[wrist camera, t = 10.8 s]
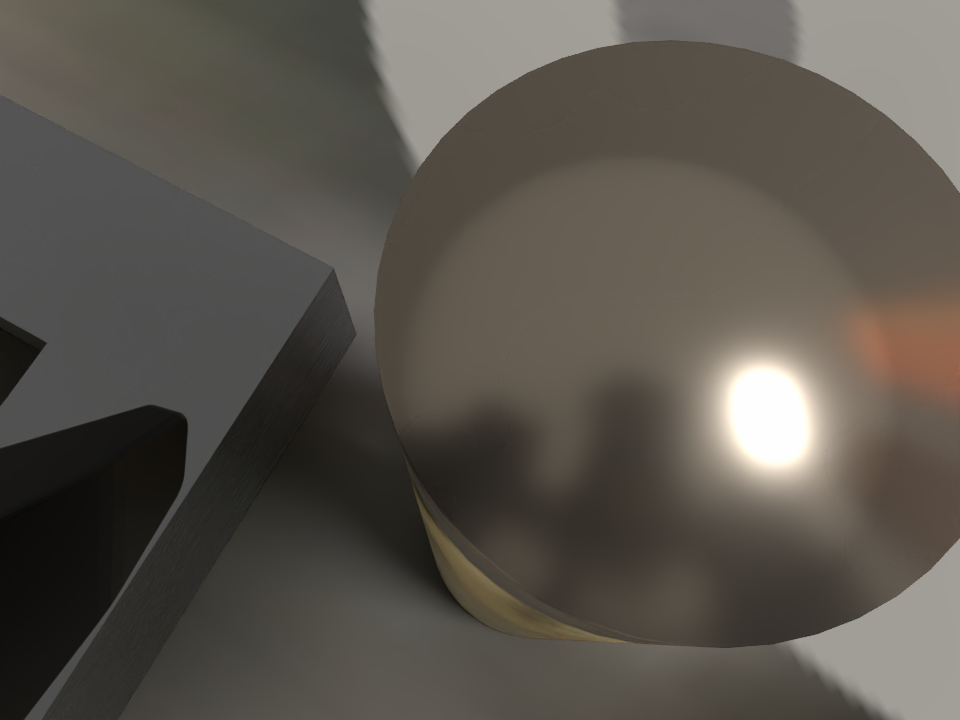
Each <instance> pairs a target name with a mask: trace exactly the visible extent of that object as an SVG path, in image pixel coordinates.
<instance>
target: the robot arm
mask: <svg viewBox="0 0 960 720" xmlns="http://www.w3.org/2000/svg"><path fill="white" fill-rule="evenodd" d="M187 436H188V422H187V418H186V417H185V416H184V414H182V413H180V412H177V411H174V410H170V409H167V408H164V407H160V406H157V405H145V406H142V407H138V408H135V409H131V410H128V411H125V412H121V413H118V414H114V415H111V416H108V417H104V418H101V419H97V420H94V421H91V422H87V423H84V424H80V425H77V426H74V427H70V428H67V429H64V430H60V431H57V432H53V433H50V434H47V435H43V436H40V437H36V438H33V439H30V440H26V441H23V442H19V443H16V444H13V445H9V446H6V447H2V448H0V720H25V718H26V717H27V716H28V714H29V713H30V712H31V710H32V709H33V708H34V707H35V705H36V704H37V703H38V701H39V700H40V699H41V697H42V696H43V695H44V694H45V692H46V691H47V690H48V688H49V687H50V686H51V684H52V683H53V682H54V680H55V679H56V678H57V677H58V675H59V674H60V673H61V671H62V670H63V669H64V667H65V666H66V665H67V664H68V662H69V661H70V660H71V658H72V657H73V656H74V654H75V653H76V652H77V651H78V649H79V648H80V647H81V645H82V644H83V643H84V641H85V640H86V639H87V637H88V636H89V635H90V634H91V632H92V631H93V630H94V628H95V627H96V626H97V624H98V623H99V622H100V620H101V619H102V618H103V616H104V615H105V613H106V612H107V611H108V609H109V608H110V607H111V605H112V603H113V602H114V600H115V599H116V597H117V596H118V594H119V592H120V591H121V589H122V588H123V586H124V584H125V583H126V581H127V579H128V578H129V576H130V574H131V573H132V571H133V569H134V568H135V566H136V564H137V563H138V561H139V559H140V558H141V556H142V554H143V553H144V551H145V549H146V548H147V546H148V544H149V543H150V541H151V539H152V538H153V536H154V534H155V533H156V531H157V529H158V528H159V526H160V524H161V523H162V521H163V519H164V518H165V516H166V514H167V513H168V511H169V510H170V508H171V506H172V505H173V503H174V501H175V500H176V498H177V496H178V494H179V492H180V490H181V487H182V484H183V480H184V475H185V463H186V450H187Z"/></svg>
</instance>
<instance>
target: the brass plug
mask: <svg viewBox="0 0 960 720" xmlns="http://www.w3.org/2000/svg"><path fill="white" fill-rule="evenodd" d="M374 315H375V340H376V354H377V359H378V365H379V370H380V376H381V381H382V387H383V392H384V395H385V398H386V402H387V405H388V408H389V411H390V415H391V418H392V421H393V424H394V428H395V431H396V434H397V437H398V441H399V444H400V447H401V450H402V454H403V457H404V460H405V463H406V467H407V470H408V473H409V477H410V480H411V483H412V486H413V490H414V493H415V496H416V499H417V503H418V506H419V509H420V512H421V516H422V519H423V522H424V525H425V529H426V532H427V535H428V538H429V542H430V545H431V548H432V552H433V555H434V558H435V561H436V564H437V567H438V570H439V572H440V575H441V577H442V579H443V581H444V583H445V585H446V586H447V588H448V589H449V591H450V592H451V594H452V595H453V597H454V598H455V599H456V600H457V601H458V602H459V604H460V605H461V606H462V607H463V608H464V609H465V610H466V611H468V612H469V613H470V614H471V615H472V616H473V617H475V618H476V619H478V620H479V621H481V622H482V623H484V624H485V625H487V626H489V627H491V628H493V629H495V630H497V631H500V632H503V633H506V634H509V635H512V636H517V637H522V638H533V639H552V640H573V641H593V642H614V643H634V644H655V645H675V646H696V647H716V648H732V647H744V646H757V645H769V644H776V643H780V642H784V641H789V640H793V639H798V638H802V637H807V636H811V635H815V634H819V633H821V632H824V631H826V630H829V629H832V628H834V627H837V626H839V625H842V624H844V623H847V622H850V621H852V620H855V619H857V618H860V617H861V616H863V615H865V614H866V613H868V612H870V611H872V610H874V609H875V608H877V607H879V606H881V605H882V604H884V603H886V602H888V601H889V600H891V599H893V598H894V597H896V596H898V595H899V594H900V593H901V592H903V591H904V590H905V589H907V588H908V587H909V586H910V585H912V584H913V583H914V582H915V581H917V580H918V579H919V578H920V577H922V576H923V575H924V574H926V573H927V572H928V571H929V570H930V569H931V568H932V567H933V566H934V565H935V564H936V563H937V562H938V561H939V560H940V559H941V558H942V557H943V555H944V554H945V553H946V552H947V551H948V550H949V549H950V548H951V547H952V546H953V545H954V544H955V543H956V541H957V540H958V539H959V538H960V193H959V191H958V190H957V189H956V187H955V186H954V185H953V183H952V182H951V181H950V179H949V178H948V177H947V175H946V174H945V173H944V171H943V170H942V169H941V168H940V167H939V165H938V164H937V163H936V162H935V161H934V160H933V159H932V158H931V157H930V156H929V155H928V154H927V153H926V151H924V149H923V148H922V147H921V146H920V145H919V144H918V143H917V142H916V141H915V140H914V139H913V138H912V137H911V136H909V135H908V134H907V133H906V132H905V131H904V130H902V129H901V128H900V127H899V126H898V125H897V124H896V123H894V122H893V121H892V120H891V119H890V118H888V117H887V116H886V115H885V114H883V113H882V112H880V111H879V110H878V109H876V108H875V107H873V106H872V105H870V104H869V103H867V102H866V101H865V100H863V99H862V98H860V97H859V96H857V95H856V94H854V93H853V92H851V91H849V90H847V89H845V88H843V87H842V86H839V85H838V84H836V83H834V82H832V81H830V80H828V79H827V78H825V77H823V76H821V75H819V74H817V73H814V72H812V71H810V70H807V69H805V68H802V67H800V66H797V65H795V64H792V63H790V62H787V61H785V60H782V59H779V58H775V57H772V56H768V55H765V54H761V53H758V52H754V51H751V50H747V49H742V48H736V47H731V46H725V45H719V44H713V43H705V42H689V41H674V40H669V41H648V42H632V43H626V44H620V45H614V46H607V47H601V48H597V49H593V50H589V51H586V52H582V53H579V54H575V55H572V56H568V57H565V58H561V59H559V60H557V61H554V62H552V63H550V64H547V65H545V66H542V67H540V68H538V69H535V70H533V71H530V72H528V73H526V74H525V75H523V76H521V77H519V78H518V79H516V80H514V81H513V82H511V83H509V84H507V85H506V86H504V87H502V88H501V89H499V90H497V91H496V92H495V93H493V94H492V95H490V96H489V97H488V98H486V99H485V100H484V101H482V102H481V103H480V104H478V105H477V106H476V107H474V108H473V109H472V110H471V111H469V112H468V113H467V114H466V115H465V116H464V117H463V118H462V119H461V120H460V121H459V122H458V123H457V124H456V125H455V126H454V127H453V128H452V129H451V130H450V131H449V132H448V133H447V134H446V135H445V136H444V137H443V138H442V139H441V140H440V142H439V143H438V144H437V145H436V147H435V148H434V149H433V150H432V152H431V153H430V155H429V156H428V157H427V158H426V160H425V161H424V162H423V163H422V165H421V166H420V167H419V169H418V171H417V173H416V174H415V176H414V178H413V180H412V181H411V183H410V185H409V187H408V188H407V190H406V192H405V194H404V195H403V197H402V199H401V201H400V204H399V206H398V209H397V211H396V214H395V216H394V219H393V221H392V224H391V226H390V229H389V231H388V234H387V237H386V241H385V246H384V250H383V254H382V258H381V262H380V266H379V270H378V278H377V288H376V298H375V308H374Z"/></svg>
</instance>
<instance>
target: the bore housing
mask: <svg viewBox="0 0 960 720" xmlns="http://www.w3.org/2000/svg"><path fill="white" fill-rule="evenodd" d="M0 328H2V329H3V330H5V331H7V332H9V333H11V334H12V335H14V336H16V337H18V338H19V339H21V340H23V341H25V342H27V343H28V344H30V345H32V346H34V347H36V348H37V349H39V350H41V352H40V354H39V355H38V356H37V358H36V359H35V360H34V362H33V363H32V364H31V366H30V367H29V369H28V370H27V371H26V373H25V374H24V375H23V377H22V378H21V379H20V381H19V382H18V383H17V385H16V386H15V387H14V389H13V390H12V392H11V393H10V394H9V396H8V397H7V398H6V400H5V401H4V402H3V404H2V405H1V406H0V448H2V447H6V446H9V445H13V444H16V443H19V442H23V441H26V440H30V439H33V438H36V437H40V436H43V435H47V434H50V433H53V432H57V431H60V430H64V429H67V428H70V427H74V426H77V425H80V424H84V423H87V422H91V421H94V420H97V419H101V418H104V417H108V416H111V415H114V414H118V413H121V412H125V411H128V410H131V409H135V408H138V407H142V406H145V405H157V406H160V407H164V408H167V409H170V410H174V411H177V412H180V413H182V414H184V416H185V417H186V418H187V422H188V436H187V450H186V463H185V475H184V480H183V484H182V487H181V490H180V492H179V494H178V496H177V498H176V500H175V501H174V503H173V505H172V506H171V508H170V510H169V511H168V513H167V514H166V516H165V518H164V519H163V521H162V523H161V524H160V526H159V528H158V529H157V531H156V533H155V534H154V536H153V538H152V539H151V541H150V543H149V544H148V546H147V548H146V549H145V551H144V553H143V554H142V556H141V558H140V559H139V561H138V563H137V564H136V566H135V568H134V569H133V571H132V573H131V574H130V576H129V578H128V579H127V581H126V583H125V584H124V586H123V588H122V589H121V591H120V592H119V594H118V596H117V597H116V599H115V600H114V602H113V603H112V605H111V607H110V608H109V609H108V611H107V612H106V613H105V615H104V616H103V618H102V619H101V620H100V622H99V623H98V624H97V626H96V627H95V628H94V630H93V631H92V632H91V634H90V635H89V636H88V637H87V639H86V640H85V641H84V643H83V644H82V645H81V647H80V648H79V649H78V651H77V652H76V653H75V654H74V656H73V657H72V658H71V660H70V661H69V662H68V664H67V665H66V666H65V667H64V669H63V670H62V671H61V673H60V674H59V675H58V677H57V678H56V679H55V680H54V682H53V683H52V684H51V686H50V687H49V688H48V690H47V691H46V692H45V694H44V695H43V696H42V697H41V699H40V700H39V701H38V703H37V704H36V705H35V707H34V708H33V709H32V710H31V712H30V713H29V714H28V716H27V717H26V718H25V720H117V719H118V717H119V716H120V714H121V712H122V711H123V709H124V707H125V706H126V704H127V703H128V701H129V699H130V698H131V696H132V695H133V693H134V691H135V690H136V688H137V687H138V685H139V683H140V682H141V680H142V679H143V677H144V675H145V674H146V672H147V670H148V669H149V667H150V666H151V664H152V662H153V661H154V659H155V658H156V656H157V654H158V653H159V651H160V650H161V648H162V646H163V645H164V643H165V642H166V640H167V638H168V637H169V635H170V633H171V632H172V630H173V629H174V627H175V625H176V624H177V622H178V621H179V619H180V617H181V616H182V614H183V613H184V611H185V609H186V608H187V606H188V604H189V603H190V601H191V600H192V598H193V596H194V595H195V593H196V592H197V590H198V588H199V587H200V585H201V584H202V582H203V580H204V579H205V577H206V576H207V574H208V572H209V571H210V569H211V567H212V566H213V564H214V563H215V561H216V559H217V558H218V556H219V555H220V553H221V551H222V550H223V548H224V547H225V545H226V543H227V542H228V540H229V539H230V537H231V535H232V534H233V532H234V530H235V529H236V527H237V526H238V524H239V522H240V521H241V519H242V518H243V516H244V514H245V513H246V511H247V510H248V508H249V506H250V505H251V503H252V501H253V500H254V498H255V497H256V495H257V493H258V492H259V490H260V489H261V487H262V485H263V484H264V482H265V481H266V479H267V477H268V476H269V474H270V473H271V471H272V469H273V468H274V466H275V464H276V463H277V461H278V460H279V458H280V456H281V455H282V453H283V452H284V450H285V448H286V447H287V445H288V444H289V442H290V440H291V439H292V437H293V436H294V434H295V432H296V431H297V429H298V427H299V426H300V424H301V423H302V421H303V419H304V418H305V416H306V415H307V413H308V411H309V410H310V408H311V407H312V405H313V403H314V402H315V400H316V398H317V397H318V395H319V394H320V392H321V390H322V389H323V387H324V386H325V384H326V382H327V381H328V379H329V378H330V376H331V374H332V373H333V371H334V370H335V368H336V366H337V365H338V363H339V361H340V360H341V358H342V357H343V355H344V353H345V352H346V350H347V349H348V347H349V345H350V344H351V342H352V341H353V339H354V337H355V336H356V331H355V328H354V325H353V323H352V320H351V317H350V314H349V311H348V308H347V305H346V302H345V299H344V297H343V294H342V291H341V288H340V285H339V282H338V279H337V276H336V273H335V271H334V268H333V267H331V266H329V265H327V264H325V263H323V262H321V261H319V260H317V259H316V258H314V257H312V256H310V255H308V254H306V253H304V252H302V251H300V250H298V249H296V248H294V247H292V246H290V245H288V244H287V243H285V242H283V241H281V240H279V239H277V238H275V237H273V236H271V235H269V234H267V233H265V232H263V231H261V230H260V229H258V228H256V227H254V226H252V225H250V224H248V223H246V222H244V221H242V220H240V219H238V218H236V217H234V216H233V215H231V214H229V213H227V212H225V211H223V210H221V209H219V208H217V207H215V206H213V205H211V204H209V203H207V202H206V201H204V200H202V199H200V198H198V197H196V196H194V195H192V194H190V193H188V192H186V191H184V190H182V189H180V188H179V187H177V186H175V185H173V184H171V183H169V182H167V181H165V180H163V179H161V178H159V177H157V176H155V175H153V174H152V173H150V172H148V171H146V170H144V169H142V168H140V167H138V166H136V165H134V164H132V163H130V162H128V161H126V160H125V159H123V158H121V157H119V156H117V155H115V154H113V153H111V152H109V151H107V150H105V149H103V148H101V147H99V146H98V145H96V144H94V143H92V142H90V141H88V140H86V139H84V138H82V137H80V136H78V135H76V134H74V133H72V132H70V131H69V130H67V129H65V128H63V127H61V126H59V125H57V124H55V123H53V122H51V121H49V120H47V119H45V118H43V117H42V116H40V115H38V114H36V113H34V112H32V111H30V110H28V109H26V108H24V107H22V106H20V105H18V104H16V103H15V102H13V101H11V100H9V99H7V98H5V97H3V96H1V95H0Z"/></svg>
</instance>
